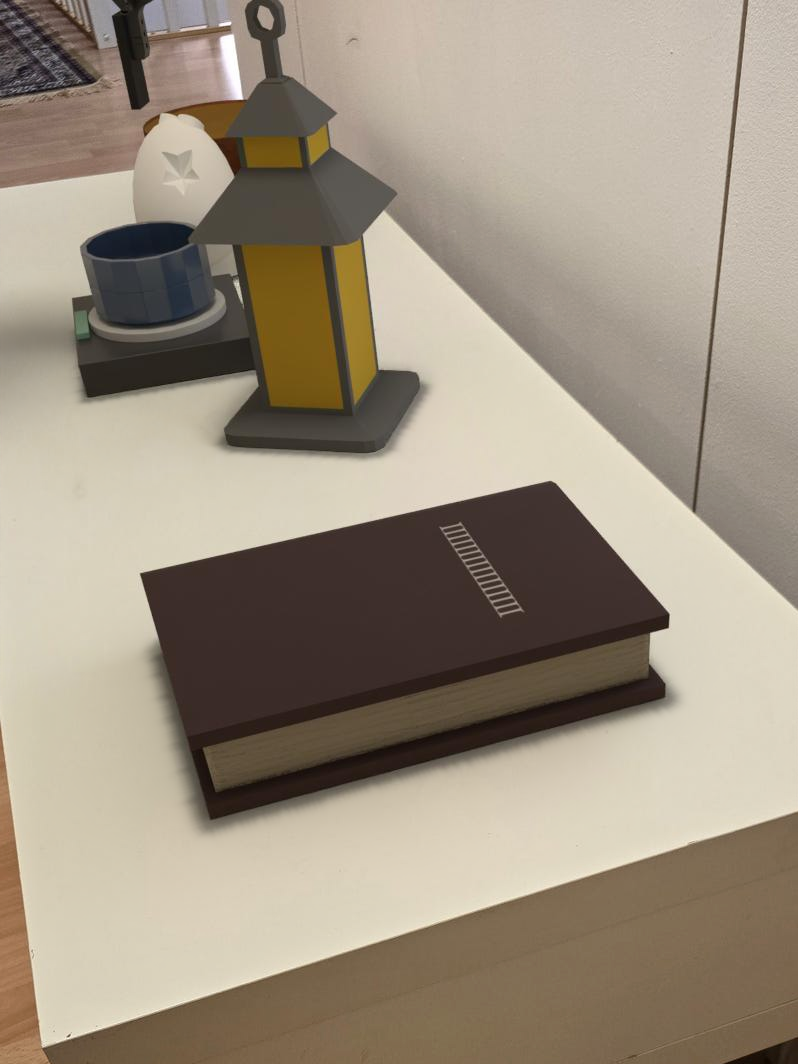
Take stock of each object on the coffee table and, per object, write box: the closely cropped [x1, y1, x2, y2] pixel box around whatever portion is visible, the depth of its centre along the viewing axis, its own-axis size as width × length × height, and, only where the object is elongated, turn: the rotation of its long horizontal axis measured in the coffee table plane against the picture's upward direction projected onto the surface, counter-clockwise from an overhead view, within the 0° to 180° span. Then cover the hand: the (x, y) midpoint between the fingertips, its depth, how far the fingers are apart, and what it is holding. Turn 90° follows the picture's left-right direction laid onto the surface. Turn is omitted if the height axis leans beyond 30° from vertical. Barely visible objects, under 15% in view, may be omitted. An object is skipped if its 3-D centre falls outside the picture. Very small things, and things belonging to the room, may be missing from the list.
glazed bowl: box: [79, 221, 216, 326], centre depth 114 cm, size 11×11×6 cm
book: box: [139, 480, 671, 820], centre depth 76 cm, size 28×20×6 cm
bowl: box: [142, 99, 248, 177], centre depth 146 cm, size 18×18×10 cm
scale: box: [71, 274, 255, 398], centre depth 118 cm, size 16×18×4 cm
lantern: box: [188, 0, 421, 453], centre depth 96 cm, size 14×14×30 cm
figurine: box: [132, 112, 238, 278], centre depth 128 cm, size 11×11×15 cm
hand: (62, 108), depth 102 cm, fingers open, 13 cm apart
